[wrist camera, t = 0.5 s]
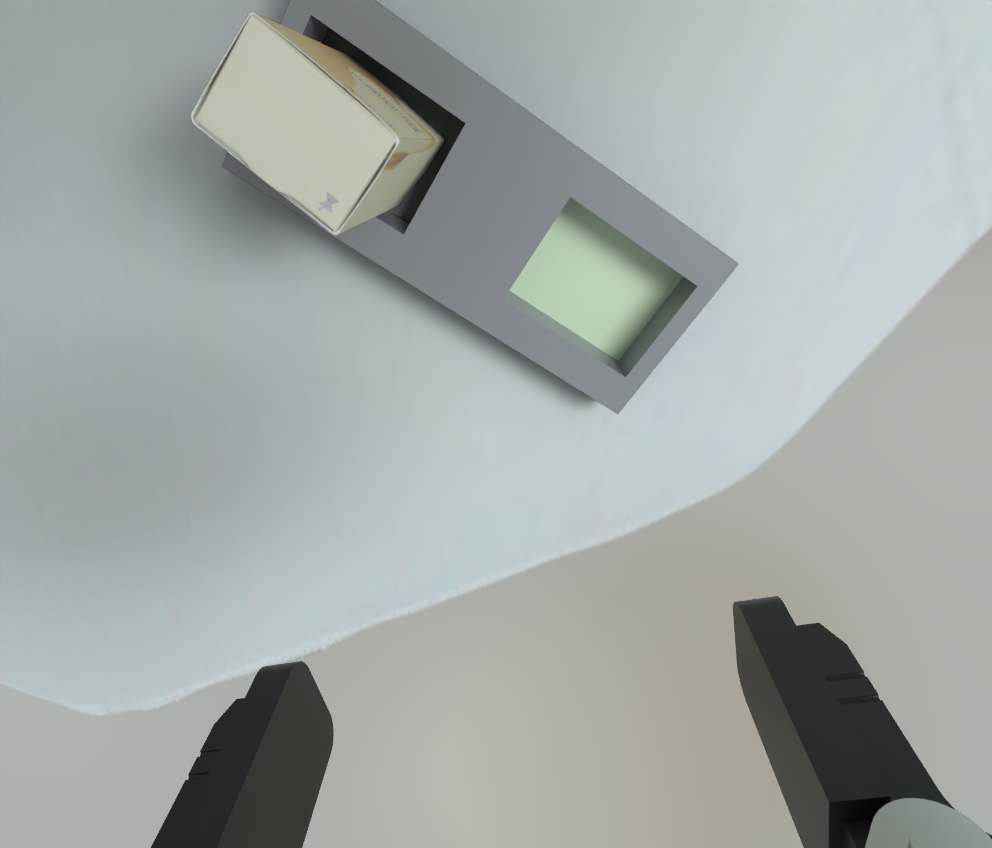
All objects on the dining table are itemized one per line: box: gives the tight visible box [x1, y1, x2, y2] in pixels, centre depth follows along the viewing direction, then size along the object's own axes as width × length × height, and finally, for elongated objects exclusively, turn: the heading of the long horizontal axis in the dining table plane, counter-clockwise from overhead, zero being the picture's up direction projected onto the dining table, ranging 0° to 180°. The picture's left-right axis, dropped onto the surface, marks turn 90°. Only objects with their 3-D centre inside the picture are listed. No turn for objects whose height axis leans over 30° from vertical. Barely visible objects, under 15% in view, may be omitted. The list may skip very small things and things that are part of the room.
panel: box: [222, 0, 739, 414], centre depth 32 cm, size 10×24×3 cm, turn 57°
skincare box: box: [191, 12, 445, 235], centre depth 27 cm, size 6×4×12 cm
